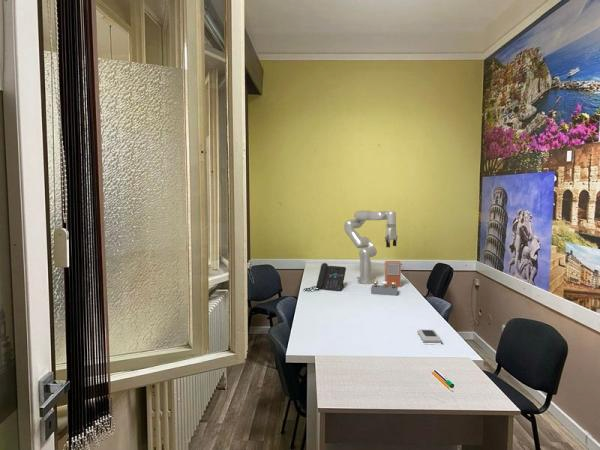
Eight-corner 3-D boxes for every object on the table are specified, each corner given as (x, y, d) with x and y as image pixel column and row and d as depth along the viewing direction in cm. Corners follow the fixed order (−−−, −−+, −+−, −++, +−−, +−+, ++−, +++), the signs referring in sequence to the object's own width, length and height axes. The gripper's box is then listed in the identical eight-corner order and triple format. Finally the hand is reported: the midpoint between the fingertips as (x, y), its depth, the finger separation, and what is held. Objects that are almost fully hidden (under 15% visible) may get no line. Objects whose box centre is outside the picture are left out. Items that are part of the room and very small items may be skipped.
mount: (371, 293, 313) (371, 287, 312) (372, 290, 323) (372, 284, 322) (397, 295, 307) (397, 289, 307) (397, 292, 317) (397, 286, 317)
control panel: (383, 285, 342) (400, 285, 340) (384, 287, 335) (402, 287, 333) (383, 260, 340) (401, 260, 339) (384, 262, 333) (402, 262, 332)
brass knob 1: (372, 288, 315) (372, 281, 315) (373, 287, 319) (373, 280, 318) (377, 288, 314) (377, 281, 314) (378, 287, 318) (378, 280, 317)
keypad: (423, 338, 210) (417, 328, 225) (423, 344, 211) (417, 334, 226) (442, 338, 210) (434, 328, 225) (441, 345, 210) (434, 335, 225)
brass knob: (390, 289, 311) (390, 282, 311) (391, 288, 315) (391, 281, 315) (395, 289, 310) (396, 282, 310) (396, 288, 314) (396, 281, 314)
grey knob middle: (381, 288, 313) (381, 281, 313) (382, 287, 317) (382, 280, 317) (386, 289, 312) (386, 282, 312) (387, 287, 316) (387, 281, 316)
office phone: (301, 291, 322) (301, 267, 320) (313, 284, 348) (313, 261, 346) (336, 295, 311) (336, 269, 309) (346, 287, 337) (346, 263, 336)
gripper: (393, 225, 337) (393, 245, 338) (381, 226, 325) (381, 247, 326) (400, 225, 332) (400, 245, 333) (389, 227, 320) (389, 248, 321)
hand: (391, 246), depth 330 cm, fingers open, 9 cm apart
